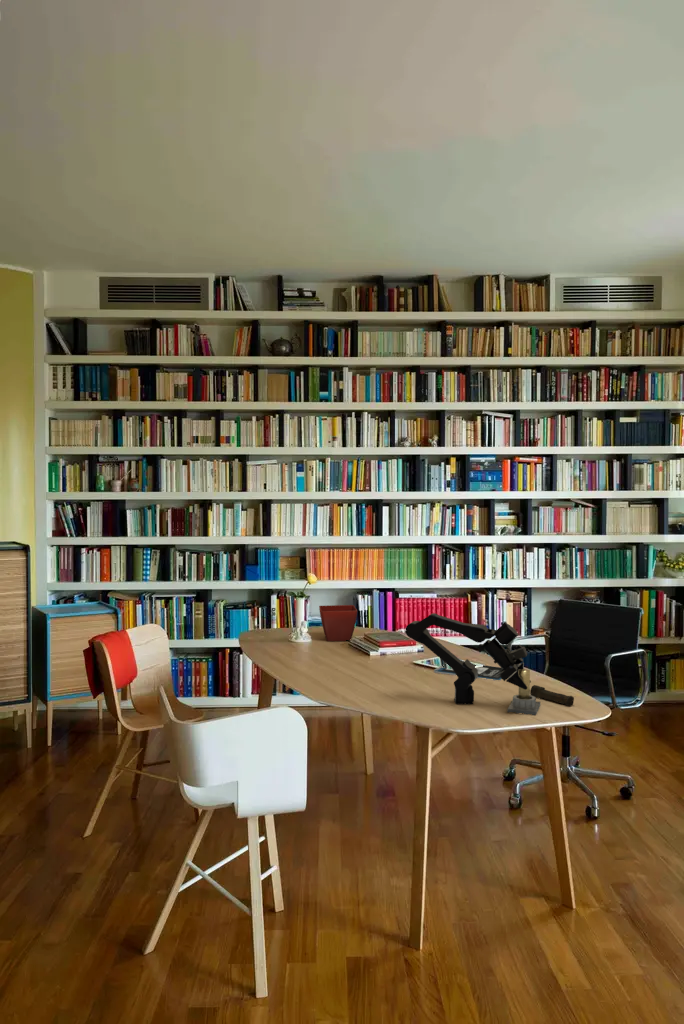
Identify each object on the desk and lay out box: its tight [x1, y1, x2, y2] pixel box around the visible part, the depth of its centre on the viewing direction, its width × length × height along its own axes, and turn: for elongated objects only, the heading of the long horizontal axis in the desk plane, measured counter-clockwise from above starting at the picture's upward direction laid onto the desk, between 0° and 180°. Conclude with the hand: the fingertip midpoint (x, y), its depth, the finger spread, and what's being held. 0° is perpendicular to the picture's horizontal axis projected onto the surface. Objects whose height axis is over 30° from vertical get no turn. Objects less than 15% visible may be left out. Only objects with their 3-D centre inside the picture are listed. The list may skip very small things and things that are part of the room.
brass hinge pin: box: [518, 668, 531, 699], centre depth 282 cm, size 4×4×13 cm
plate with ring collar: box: [506, 693, 541, 716], centre depth 282 cm, size 10×14×4 cm
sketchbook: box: [433, 664, 503, 681], centre depth 340 cm, size 22×30×2 cm
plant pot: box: [318, 604, 358, 642], centre depth 412 cm, size 19×19×17 cm
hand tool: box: [530, 684, 575, 708], centre depth 294 cm, size 19×4×5 cm, turn 35°
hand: (528, 685), depth 282 cm, fingers open, 9 cm apart
